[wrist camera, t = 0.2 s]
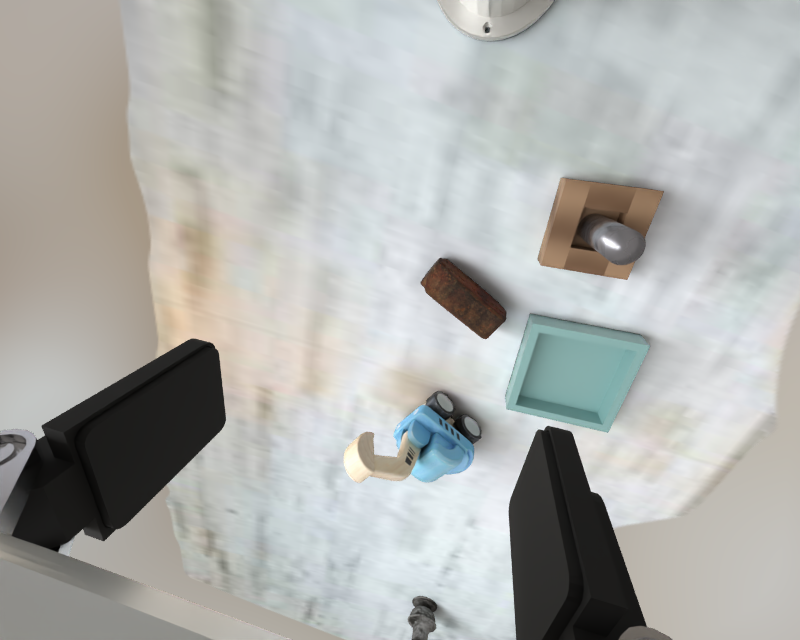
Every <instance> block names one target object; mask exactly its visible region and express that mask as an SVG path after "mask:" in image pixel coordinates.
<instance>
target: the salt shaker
mask: <svg viewBox="0 0 800 640" xmlns="http://www.w3.org/2000/svg"><path fill="white" fill-rule="evenodd" d="M412 602H413V605H414V606H415V608H414V609H413V610H412V612H411V614H410V616H409V617H408V622H409V624H410V625H411V626H412V627H413V635H412V640H427V639H428V634H429V632H433V631H434V630H435V629H436V624H435V617H434V614H433V613H432V612H434V611H436V609H437V605H436V603H435V602H434V601H433V600H431V599H429V598H427V597H423V596H418V597H415V598H414V599H413V601H412Z"/></svg>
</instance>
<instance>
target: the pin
mask: <svg viewBox="0 0 800 640" xmlns="http://www.w3.org/2000/svg"><path fill="white" fill-rule="evenodd" d="M578 234H579V236H580V238H581V239H583V240H584V241H585V242H586V243H587V244H589V245H590V246H591V247H592V248H594V249H595V250H596V251H597V252H599V253H600V254H601V255H602V256H604V257H605V258H606V259H607V260H609V261H610V262H611V263H613V264H616V265H627V264H630V263H633V262H634V261H636V260H637V259H638V258H639V257H640V256H641V255H642V254H643V252H644V249H645V239H644V237H643V235H642V234H641V233H639V232H638V231H636V230H634V229H631V228H629V227H627V226H625V225H623V224H620V223H618V222H616V221H614V220H612V219H609V218H607V217H605V216H603V215H601V214H590V215H588V216H586V217H584V218H583V219H582V220H581V222H580V223H579V225H578Z"/></svg>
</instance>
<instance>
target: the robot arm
mask: <svg viewBox="0 0 800 640" xmlns="http://www.w3.org/2000/svg"><path fill="white" fill-rule="evenodd" d="M437 1H438V4H439V6H440V8H441V10H442V12H443V13H444V15H445V17H446V18H447V20H448V21H449V22H450V23H451V24H452V25H453V26H454V27H455V28H456V29H457V30H458V31H460V32H461V33H463V34H464V35H466V36H468V37H471V38H474V39H476V40H483V41H496V40H503V39H506V38H509V37H512V36H515V35H517V34H518V33H520V32H522V31H524V30H526V29H527V28H528V27H530V26H531V25H532V24H533V23H535V22H536V21H537V20H538V19H539V18H540V17H541V16H542V15H543V14H544V13H545V12H546V11H547V10H548V8H549V7H550V6H551V5H552V3H553V2H554V0H437ZM486 28H489V29H490V32H489V33H485V29H486ZM225 421H226V415H225V406H224V396H223V387H222V378H221V369H220V360H219V353H218V350H217V349H215V346H214V345H213V344H212V343H210V342H206V341H202V340H198V339H190V340H188V341H186V342H184V343H183V344H181V345H179V346H177V347H176V348H174V349H172V350H171V351H169V352H167V353H165V354H164V355H162V356H160V357H159V358H157V359H155V360H153V361H152V362H150V363H148V364H147V365H145V366H143V367H142V368H140V369H138V370H137V371H135V372H133V373H131V374H129V375H128V376H126V377H124V378H123V379H121V380H119V381H117V382H116V383H114V384H112V385H111V386H109V387H107V388H105V389H104V390H102V391H100V392H98V393H97V394H95V395H93V396H92V397H90V398H88V399H86V400H85V401H83V402H81V403H80V404H78V405H76V406H75V407H73V408H71V409H70V410H68V411H66V412H64V413H62V414H61V415H59V416H58V417H56V418H54V419H52V420H51V421H49V422H47V423H45V424H44V425H42V429H43V431H44V433H45V436H44V437H42V438H40V439H39V440H37V438H36V437H35V435H34V433H32V432H30V431H28V430H21V429H12V430H3V431H0V640H291V639H289V638H286V637H283V636H281V635H278V634H276V633H273V632H270V631H268V630H265V629H262V628H260V627H257V626H254V625H252V624H249V623H246V622H244V621H240V620H239V619H236V618H233V617H231V616H228V615H225V614H223V613H220V612H217V611H215V610H212V609H209V608H207V607H204V606H201V605H198V604H196V603H193V602H190V601H188V600H185V599H182V598H180V597H177V596H174V595H172V594H169V593H166V592H164V591H161V590H158V589H156V588H153V587H150V586H148V585H145V584H142V583H139V582H137V581H134V580H132V579H128V578H126V577H123V576H121V575H118V574H115V573H112V572H110V571H107V570H104V569H102V568H99V567H96V566H93V565H91V564H88V563H85V562H83V561H80V560H77V559H74V558H72V557H69V554H70V550H71V547H72V544H73V541H74V537H75V535H77V534H78V533H79V532H80V531H81V530H82V529H83V530H84V533H85V535H88V536H91V537H93V538H96V539H99V540H102V541H105V540H106V539H107V538H108V537H109V536H110V535H111V534H112V533H113V532H114V531H115V530H116V529H120V528H122V527H123V526H125V525H126V524H127V523H128V522H129V521H130V520H131V519H132V518H133V517H134V516H135V515H136V514H137V513H138V512H139V511H140V510H141V509H142V508H143V507H144V506H145V505H146V504H147V503H148V502H149V501H150V500H151V499H152V498H153V497H154V496H155V495H156V494H157V493H158V492H159V491H160V490H161V489H162V488H163V487H164V486H165V485H166V484H168V483H169V482H170V481H171V480H172V479H173V478H174V477H175V476H176V475H177V474H178V473H179V472H180V471H181V470H182V469H183V468H184V467H185V466H186V465H187V464H188V463H189V462H190V461H191V460H192V459H193V458H194V457H195V456H196V455H197V454H198V453H199V452H200V451H201V450H202V449H203V448H204V447H205V446H206V445H207V444H208V443H209V442H210V441H211V440H212V439H213V438H214V437H215V436H216V435H217V434H218V433H219V432H220V431H221V430H222V428H223V427H224V424H225ZM509 526H510V542H511V559H512V575H513V591H514V608H515V624H516V640H672V639H671V638H670V637H669V636H667V635H665V634H663V633H661V632H659V631H657V630H655V629H653V628H648V627H647V626H646V623H645V620H644V617H643V614H642V611H641V608H640V605H639V602H638V600H637V597H636V594H635V591H634V588H633V585H632V582H631V580H630V577H629V574H628V571H627V568H626V565H625V562H624V559H623V556H622V553H621V551H620V547H619V545H618V542H617V539H616V536H615V533H614V530H613V527H612V524H611V521H610V519H609V516H608V513H607V510H606V507H605V504H604V502H603V500H602V498H601V496H600V495H599V494H597V493H593V492H591V491H590V487H589V484H588V481H587V478H586V475H585V472H584V468H583V465H582V462H581V459H580V456H579V453H578V449H577V446H576V443H575V440H574V437H573V434H572V432H570V431H567V430H563V429H559V428H555V427H551V426H547V427H546V428H545V430H544V431H543V430H537V432H536V434H535V437H534V439H533V442H532V445H531V447H530V450H529V452H528V455H527V457H526V460H525V463H524V465H523V468H522V470H521V473H520V476H519V478H518V481H517V483H516V486H515V489H514V491H513V494H512V496H511V499H510V504H509Z"/></svg>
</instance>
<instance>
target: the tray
mask: <svg viewBox="0 0 800 640" xmlns="http://www.w3.org/2000/svg"><path fill="white" fill-rule="evenodd" d="M649 347H650V345H649V344H648V343H647V342H646V341H645V340H644V338H643V337H642V336H641V335H640V334H635V333H630V332H624V331H619V330H614V329H608V328H603V327H598V326H592V325H587V324H582V323H577V322H571V321H566V320H561V319H555V318H550V317H545V316H540V315H534V314H530V315H529V319H528V322H527V325H526V329H525V332H524V335H523V339H522V342H521V345H520V349H519V352H518V355H517V359H516V362H515V365H514V368H513V372H512V375H511V378H510V382H509V385H508V388H507V392H506V395H505V400H506V409H508V410H513V411H517V412H521V413H526V414H530V415H534V416H538V417H543V418H547V419H551V420H556V421H560V422H564V423H569V424H573V425H577V426H581V427H586V428H590V429H594V430H599V431H603V432H607V433H608V432H609V430H610V428H611V426H612V424H613V422H614V419H615V417H616V415H617V413H618V411H619V409H620V407H621V405H622V403H623V401H624V399H625V397H626V395H627V393H628V391H629V389H630V387H631V385H632V382H633V380H634V378H635V376H636V374H637V372H638V370H639V368H640V366H641V364H642V362H643V360H644V358H645V356H646V354H647V352H648V350H649Z"/></svg>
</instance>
